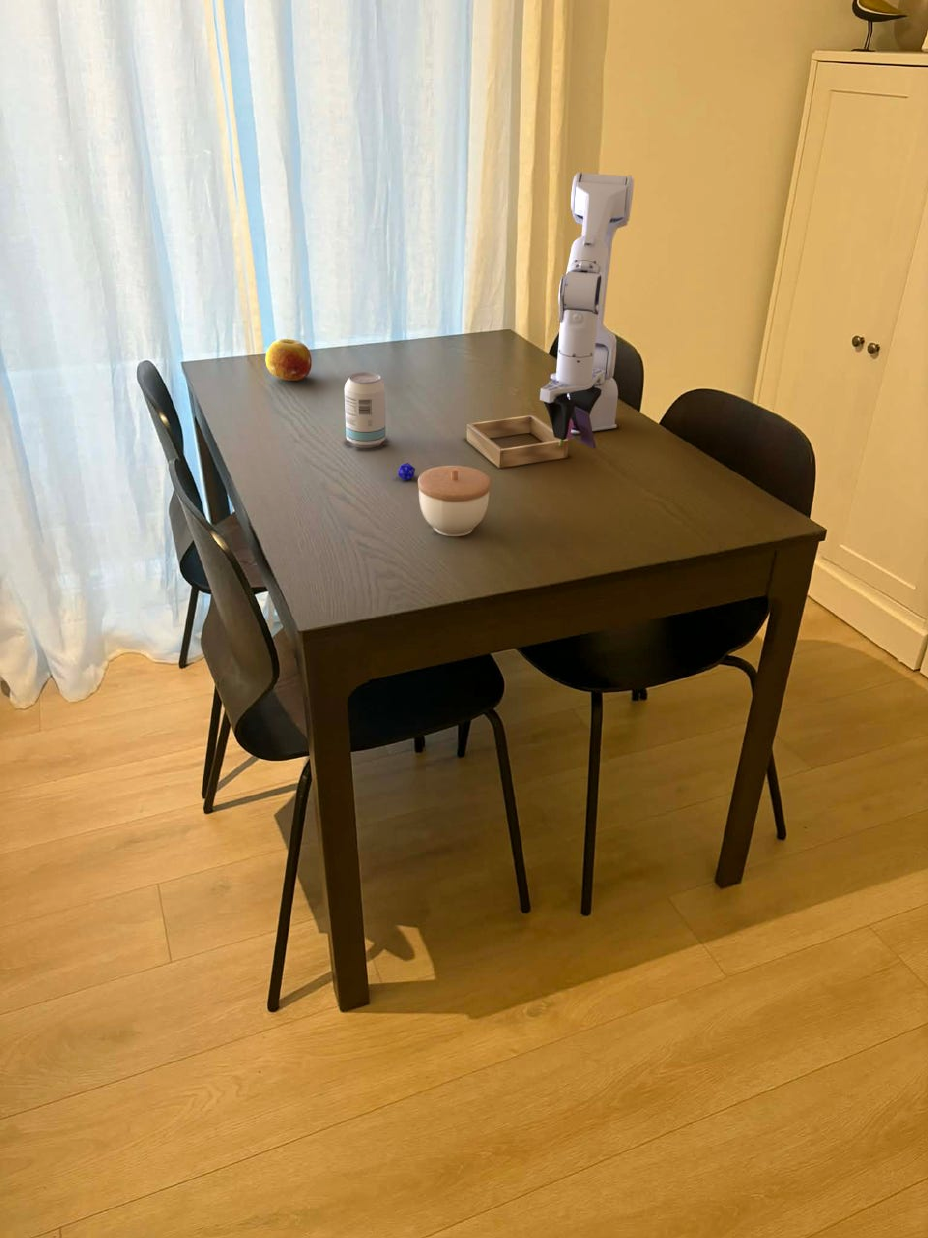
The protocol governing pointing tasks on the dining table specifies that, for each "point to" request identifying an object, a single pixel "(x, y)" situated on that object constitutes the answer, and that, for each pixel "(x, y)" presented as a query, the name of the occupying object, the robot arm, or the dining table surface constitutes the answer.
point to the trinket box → (453, 498)
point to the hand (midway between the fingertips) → (568, 434)
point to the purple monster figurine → (582, 428)
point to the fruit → (288, 360)
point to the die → (406, 471)
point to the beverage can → (365, 409)
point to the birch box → (522, 454)
